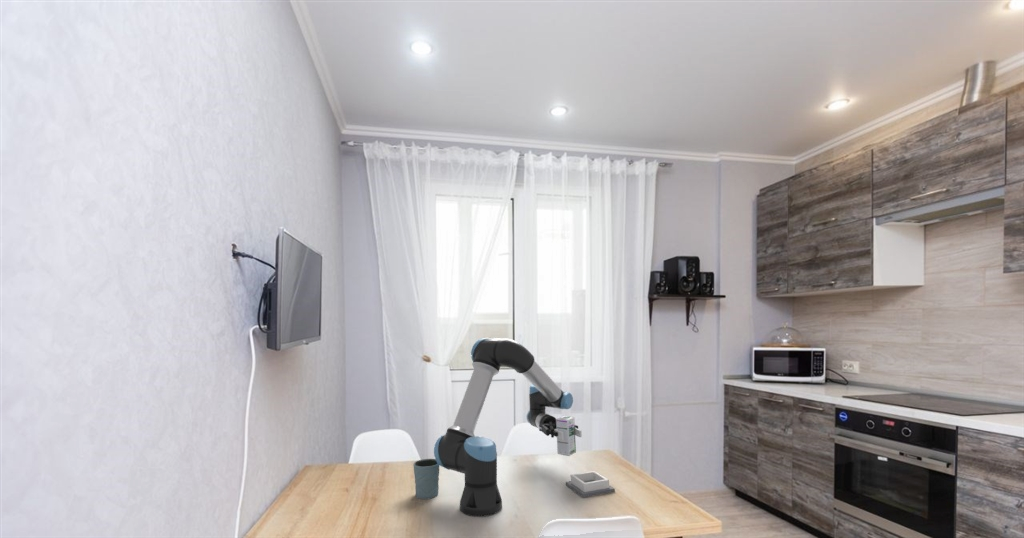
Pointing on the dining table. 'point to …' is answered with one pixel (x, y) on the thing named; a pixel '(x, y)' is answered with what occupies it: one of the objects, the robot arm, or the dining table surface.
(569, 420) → the syrup box
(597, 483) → the socket plate
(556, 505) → the dining table surface
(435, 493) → the teal cup
